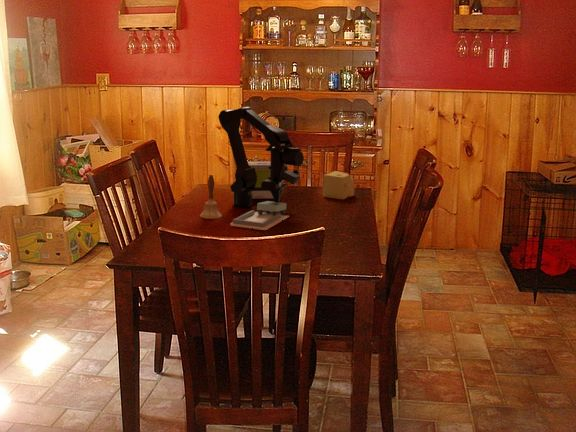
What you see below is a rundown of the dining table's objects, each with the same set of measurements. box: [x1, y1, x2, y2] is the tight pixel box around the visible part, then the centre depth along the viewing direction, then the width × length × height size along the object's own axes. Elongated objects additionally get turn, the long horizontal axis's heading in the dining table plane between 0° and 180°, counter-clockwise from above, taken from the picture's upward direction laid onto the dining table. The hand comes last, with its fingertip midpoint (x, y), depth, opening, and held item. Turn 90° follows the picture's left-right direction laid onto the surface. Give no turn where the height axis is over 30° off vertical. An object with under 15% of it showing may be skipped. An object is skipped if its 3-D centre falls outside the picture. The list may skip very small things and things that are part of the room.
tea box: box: [248, 161, 274, 200], centre depth 298 cm, size 15×10×15 cm, turn 92°
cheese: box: [322, 170, 355, 200], centre depth 302 cm, size 10×11×10 cm
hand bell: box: [199, 174, 223, 220], centre depth 263 cm, size 8×8×16 cm
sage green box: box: [256, 200, 287, 216], centre depth 267 cm, size 8×10×4 cm
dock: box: [229, 209, 290, 231], centre depth 259 cm, size 14×22×2 cm, turn 157°
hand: (277, 202), depth 272 cm, fingers closed
